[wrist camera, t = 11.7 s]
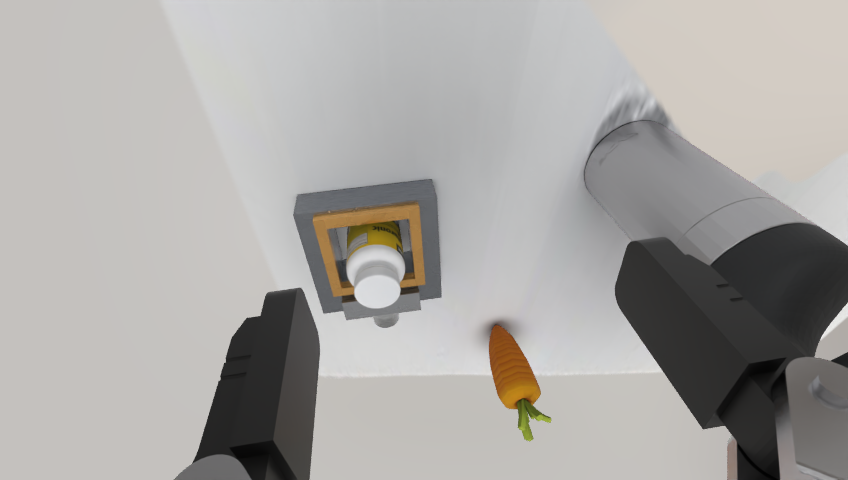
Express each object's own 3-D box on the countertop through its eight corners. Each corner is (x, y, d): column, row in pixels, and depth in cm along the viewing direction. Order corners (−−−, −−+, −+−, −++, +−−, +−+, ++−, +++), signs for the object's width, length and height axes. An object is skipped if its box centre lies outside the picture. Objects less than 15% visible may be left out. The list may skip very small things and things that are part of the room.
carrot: (496, 307, 53) (537, 417, 41) (521, 321, 55) (565, 428, 44) (470, 329, 55) (501, 439, 43) (494, 342, 57) (530, 449, 45)
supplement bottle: (410, 228, 43) (421, 293, 36) (372, 255, 45) (375, 323, 37) (375, 195, 41) (379, 259, 33) (336, 226, 42) (331, 294, 34)
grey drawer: (431, 179, 40) (439, 206, 36) (437, 299, 51) (444, 331, 47) (297, 194, 39) (291, 224, 35) (332, 314, 50) (330, 347, 46)
